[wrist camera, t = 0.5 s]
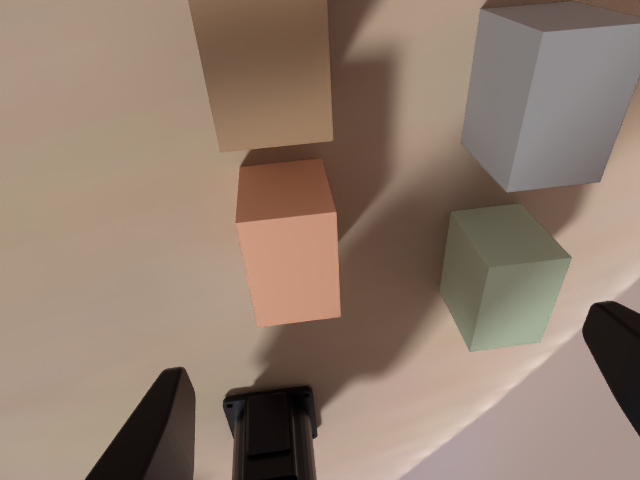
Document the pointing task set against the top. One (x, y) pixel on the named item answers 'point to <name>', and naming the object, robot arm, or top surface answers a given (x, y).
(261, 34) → the walnut brick
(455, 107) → the top surface
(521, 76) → the grey brick
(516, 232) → the sage brick
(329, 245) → the terracotta brick
